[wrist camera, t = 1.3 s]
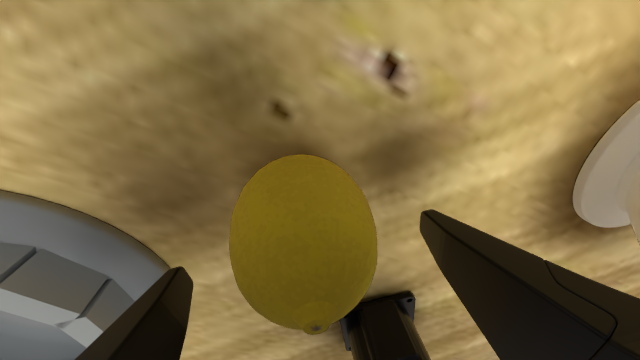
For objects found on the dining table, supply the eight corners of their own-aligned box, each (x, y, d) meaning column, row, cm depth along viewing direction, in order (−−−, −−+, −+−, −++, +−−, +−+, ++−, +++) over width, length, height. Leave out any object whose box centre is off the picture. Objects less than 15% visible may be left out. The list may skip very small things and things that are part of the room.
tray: (226, 343, 20) (218, 388, 17) (2, 398, 19) (-43, 454, 16) (79, 145, 10) (14, 178, 8) (-375, 235, 10) (-618, 306, 7)
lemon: (361, 149, 13) (461, 272, 6) (324, 226, 15) (362, 380, 8) (259, 114, 11) (225, 230, 4) (234, 207, 13) (186, 382, 6)
